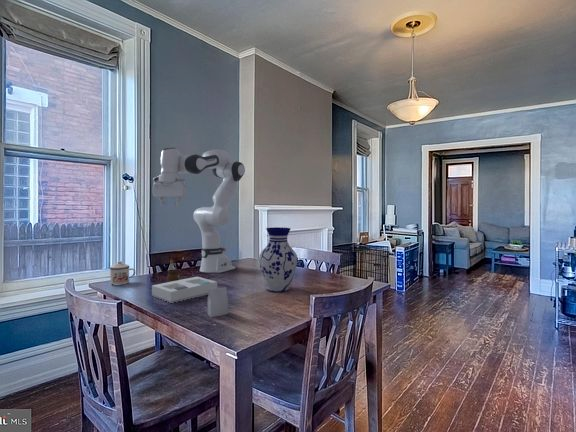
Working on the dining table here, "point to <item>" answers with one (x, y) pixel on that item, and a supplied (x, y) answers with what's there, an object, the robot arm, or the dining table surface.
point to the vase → (278, 261)
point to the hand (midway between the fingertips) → (169, 205)
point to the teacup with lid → (120, 273)
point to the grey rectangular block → (217, 302)
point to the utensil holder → (172, 274)
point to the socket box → (183, 289)
